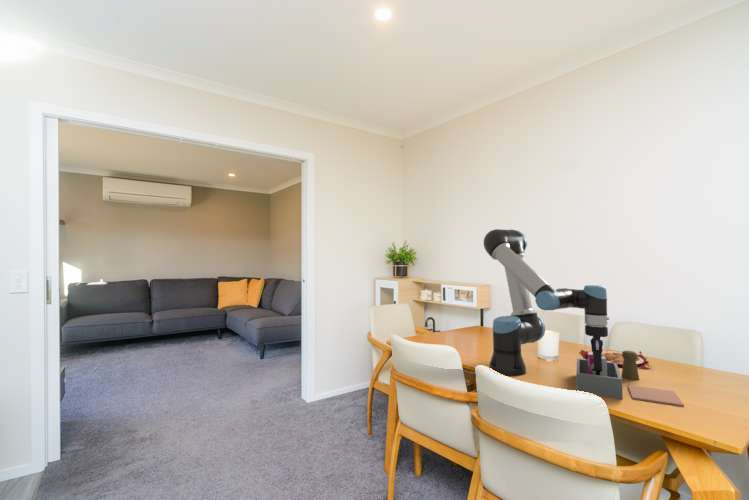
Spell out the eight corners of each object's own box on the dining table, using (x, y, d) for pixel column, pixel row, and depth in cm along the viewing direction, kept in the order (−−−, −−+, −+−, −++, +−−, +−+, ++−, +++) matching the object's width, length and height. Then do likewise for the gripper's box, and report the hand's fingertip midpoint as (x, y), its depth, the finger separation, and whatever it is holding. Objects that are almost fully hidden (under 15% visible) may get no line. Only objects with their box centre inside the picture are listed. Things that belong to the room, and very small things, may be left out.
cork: (642, 380, 144) (641, 353, 144) (625, 379, 145) (624, 352, 145) (634, 375, 150) (633, 349, 150) (618, 375, 151) (617, 349, 151)
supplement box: (605, 384, 140) (604, 355, 140) (607, 389, 135) (607, 359, 135) (588, 382, 142) (587, 353, 143) (590, 387, 137) (589, 357, 137)
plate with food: (580, 353, 188) (580, 346, 188) (642, 357, 177) (641, 350, 177) (586, 367, 166) (586, 359, 166) (657, 372, 155) (657, 364, 155)
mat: (632, 398, 126) (632, 397, 126) (627, 386, 138) (627, 384, 138) (683, 406, 119) (683, 404, 119) (674, 392, 131) (674, 391, 131)
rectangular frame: (576, 392, 132) (576, 373, 133) (577, 375, 152) (576, 358, 152) (622, 399, 125) (622, 379, 126) (616, 380, 145) (616, 362, 145)
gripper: (609, 330, 129) (611, 395, 128) (606, 322, 145) (607, 379, 145) (585, 328, 133) (587, 391, 132) (584, 320, 149) (586, 376, 149)
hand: (597, 384), depth 138 cm, fingers closed on supplement box, 6 cm apart
